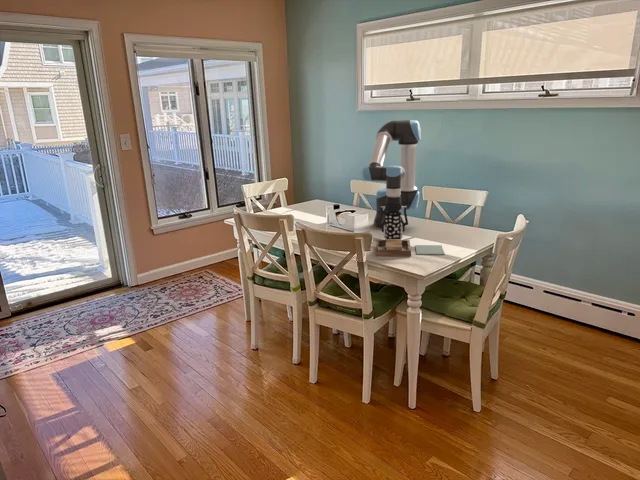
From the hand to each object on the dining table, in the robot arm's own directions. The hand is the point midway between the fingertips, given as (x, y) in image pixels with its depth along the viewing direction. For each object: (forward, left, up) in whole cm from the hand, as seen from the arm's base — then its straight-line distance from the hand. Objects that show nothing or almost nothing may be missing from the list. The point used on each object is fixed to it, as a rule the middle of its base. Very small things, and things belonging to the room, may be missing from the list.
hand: (393, 237), depth 238 cm
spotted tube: (0, 0, -7) cm, 7 cm away
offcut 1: (+8, 0, -2) cm, 8 cm away
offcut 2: (+8, 0, -4) cm, 9 cm away
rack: (+3, 0, -6) cm, 7 cm away
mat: (+2, +19, -6) cm, 20 cm away
